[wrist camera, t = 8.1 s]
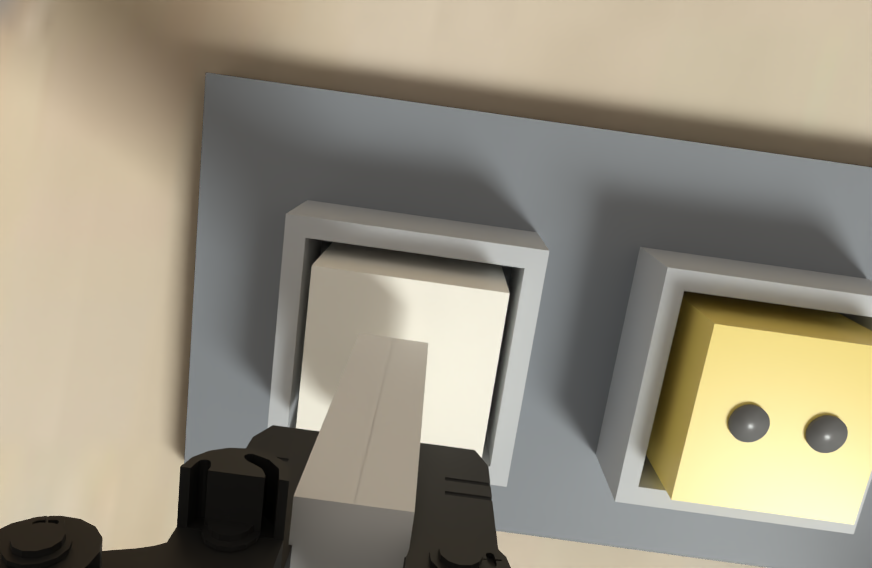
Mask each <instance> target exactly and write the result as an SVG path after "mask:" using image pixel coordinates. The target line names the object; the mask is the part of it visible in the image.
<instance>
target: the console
mask: <svg viewBox="0 0 872 568" xmlns="http://www.w3.org/2000/svg"><path fill="white" fill-rule="evenodd" d="M332 242H339V243H346V244H354V245H361V246H368V247H375V248H382V249H389V250H396V251H404V252H411V253H418V254H425V255H432V256H439V257H446V258H454V259H461V260H468V261H475V262H482V263H489V264H496V265H501V266H502V270H503V273H504V276H505V279H506V283H507V286H508V289H509V292H510V295H509V301H508V307H507V312H506V318H505V324H504V330H503V336H502V342H501V348H500V354H499V360H498V365H497V371H496V377H495V383H494V389H493V395H492V401H491V407H490V413H489V418H488V424H487V430H486V436H485V442H484V448H483V454H482V459H483V460H484V462H485V463H486V464H487V465H488V468H489V476H490V486H491V494H492V502H493V511H494V519H495V528H496V531H502V532H509V533H517V534H524V535H531V536H539V537H546V538H553V539H561V540H568V541H575V542H583V543H590V544H598V545H605V546H612V547H620V548H627V549H634V550H642V551H649V552H656V553H664V554H671V555H679V556H686V557H693V558H701V559H708V560H715V561H723V562H730V563H737V564H745V565H752V566H759V567H767V568H872V471H871V474H870V477H869V480H868V483H867V486H866V489H865V492H864V495H863V499H862V502H861V505H860V508H859V511H858V514H857V517H856V520H855V523H854V525H852V524H845V523H837V522H830V521H823V520H815V519H808V518H801V517H793V516H786V515H779V514H771V513H764V512H757V511H749V510H742V509H735V508H728V507H720V506H713V505H706V504H698V503H691V502H684V501H676V500H671V499H670V497H669V495H668V493H667V492H666V490H665V488H664V486H663V484H662V483H661V481H660V479H659V477H658V475H657V474H656V472H655V470H654V468H653V466H652V465H651V463H650V461H649V459H648V457H647V456H646V452H647V448H648V443H649V439H650V435H651V430H652V426H653V422H654V418H655V413H656V409H657V405H658V400H659V396H660V392H661V388H662V383H663V379H664V375H665V370H666V366H667V362H668V358H669V353H670V349H671V345H672V340H673V336H674V332H675V328H676V323H677V319H678V315H679V310H680V306H681V302H682V298H683V293H684V291H686V292H693V293H700V294H707V295H714V296H721V297H729V298H736V299H743V300H750V301H757V302H764V303H771V304H779V305H786V306H793V307H800V308H807V309H814V310H821V311H828V312H836V313H839V314H841V315H843V316H845V317H847V318H849V319H851V320H852V321H854V322H856V323H858V324H860V325H862V326H864V327H866V328H867V329H869V330H871V331H872V167H866V166H859V165H852V164H844V163H837V162H830V161H823V160H816V159H809V158H802V157H795V156H788V155H781V154H774V153H767V152H760V151H753V150H746V149H739V148H732V147H725V146H718V145H711V144H704V143H697V142H690V141H683V140H676V139H669V138H662V137H655V136H648V135H641V134H634V133H627V132H620V131H613V130H606V129H599V128H592V127H585V126H578V125H571V124H564V123H557V122H550V121H543V120H536V119H529V118H522V117H515V116H508V115H501V114H494V113H487V112H480V111H473V110H466V109H459V108H452V107H445V106H438V105H431V104H424V103H417V102H410V101H402V100H395V99H388V98H381V97H374V96H367V95H360V94H353V93H346V92H339V91H332V90H325V89H318V88H311V87H304V86H297V85H290V84H283V83H276V82H269V81H262V80H255V79H248V78H241V77H234V76H227V75H220V74H213V73H206V77H205V96H204V114H203V132H202V150H201V169H200V187H199V205H198V223H197V242H196V260H195V278H194V296H193V315H192V333H191V351H190V369H189V388H188V406H187V424H186V443H185V461H184V463H185V462H187V461H188V460H189V459H190V458H192V457H194V456H196V455H199V454H202V453H204V452H207V451H210V450H217V449H224V448H246V447H247V446H248V444H249V442H250V441H251V439H252V437H253V436H255V435H257V434H259V433H260V432H262V431H264V430H265V429H267V428H269V427H270V426H272V425H276V426H283V427H291V428H296V423H297V412H298V402H299V392H300V381H301V371H302V361H303V350H304V340H305V330H306V319H307V309H308V299H309V288H310V278H311V268H312V265H313V264H314V262H315V261H316V260H317V259H318V258H319V257H320V256H321V255H322V254H323V252H324V251H325V250H326V249H327V248H328V247H329V246H330V245H331V243H332Z"/></svg>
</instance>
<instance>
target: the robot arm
mask: <svg viewBox="0 0 872 568" xmlns="http://www.w3.org/2000/svg"><path fill="white" fill-rule="evenodd" d="M427 354H428V343H426V342H419V341H412V340H404V339H397V338H390V337H382V336H375V335H368V334H360V333H359V334H358V337H357V339H356V342H355V344H354V347H353V349H352V352H351V354H350V357H349V359H348V362H347V364H346V367H345V369H344V372H343V374H342V377H341V379H340V382H339V384H338V387H337V389H336V392H335V394H334V397H333V399H332V402H331V404H330V407H329V409H328V412H327V414H326V417H325V419H324V422H323V424H322V427H321V429H320V431H313V430H306V429H298V428H291V427H283V426H276V425H272V426H270V427H269V428H267V429H265V430H264V431H262V432H260V433H259V434H257V435H255V436H253V437H252V439H251V441H250V442H249V444H248V446H247V447H246V448H224V449H217V450H210V451H207V452H204V453H202V454H199V455H196V456H194V457H192V458H190V459H189V460H188V461H187V462H185V463H184V464H183V465H182V466H181V467H180V484H179V501H178V519H177V528H176V529H175V531H174V532H173V534H172V535H171V537H170V538H169V540H168V542H167V543H163V544H160V545H156V546H151V547H144V548H136V549H123V550H110V551H102V536H101V535H100V533H99V532H98V530H97V528H96V527H95V526H93V525H91V524H89V523H87V522H85V521H83V520H81V519H77V518H71V517H64V516H49V517H47V516H42V517H35V518H31V519H27V520H23V521H19V522H15V523H12V524H10V525H7V526H5V527H3V528H1V529H0V568H511V567H510V565H509V563H508V561H507V558H506V556H504V555H503V554H502V553H501V552H500V551H499V550H498V545H497V536H496V528H495V519H494V511H493V502H492V494H491V486H490V476H489V468H488V465H487V464H486V463H485V462H484V460H483V459H482V458H481V457H480V456H479V454H478V453H477V452H476V451H475V450H471V449H464V448H457V447H449V446H442V445H434V444H427V443H420V440H421V428H422V415H423V403H424V391H425V379H426V366H427Z"/></svg>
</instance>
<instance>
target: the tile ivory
mask: <svg viewBox="0 0 872 568" xmlns="http://www.w3.org/2000/svg"><path fill="white" fill-rule="evenodd" d="M509 295H510V292H509V289H508V286H507V283H506V279H505V276H504V273H503V270H502V266H501V265H496V264H489V263H482V262H475V261H468V260H461V259H454V258H446V257H439V256H432V255H425V254H418V253H411V252H404V251H396V250H389V249H382V248H375V247H368V246H361V245H354V244H346V243H339V242H332V243H331V245H330V246H329V247H328V248H327V249H326V250H325V251H324V252H323V254H322V255H321V256H320V257H319V258H318V259H317V260H316V261H315V262H314V264H313V265H312V268H311V278H310V288H309V299H308V309H307V319H306V330H305V340H304V350H303V361H302V371H301V381H300V392H299V402H298V412H297V423H296V428H298V429H306V430H313V431H320V429H321V427H322V424H323V422H324V419H325V417H326V414H327V412H328V409H329V407H330V404H331V402H332V399H333V397H334V394H335V392H336V389H337V387H338V384H339V382H340V379H341V377H342V374H343V372H344V369H345V367H346V364H347V362H348V359H349V357H350V354H351V352H352V349H353V347H354V344H355V342H356V339H357V337H358V334H359V333H360V334H368V335H375V336H382V337H390V338H397V339H404V340H412V341H419V342H426V343H428V354H427V366H426V379H425V391H424V403H423V415H422V428H421V440H420V443H427V444H434V445H442V446H449V447H457V448H464V449H471V450H475V451H476V452H477V453H478V454H479V456H480V457H481V458H482V454H483V448H484V442H485V436H486V430H487V424H488V418H489V413H490V407H491V401H492V395H493V389H494V383H495V377H496V371H497V365H498V360H499V354H500V348H501V342H502V336H503V330H504V324H505V318H506V312H507V307H508V301H509Z"/></svg>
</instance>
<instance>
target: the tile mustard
mask: <svg viewBox="0 0 872 568" xmlns="http://www.w3.org/2000/svg"><path fill="white" fill-rule="evenodd" d="M646 456H647V457H648V459H649V461H650V463H651V465H652V466H653V468H654V470H655V472H656V474H657V475H658V477H659V479H660V481H661V483H662V484H663V486H664V488H665V490H666V492H667V493H668V495H669V497H670V499H671V500H676V501H684V502H691V503H698V504H706V505H713V506H720V507H728V508H735V509H742V510H749V511H757V512H764V513H771V514H779V515H786V516H793V517H801V518H808V519H815V520H823V521H830V522H837V523H845V524H852V525H854V523H855V520H856V517H857V514H858V511H859V508H860V505H861V502H862V499H863V495H864V492H865V489H866V486H867V483H868V480H869V477H870V474H871V471H872V331H871V330H869V329H867V328H866V327H864V326H862V325H860V324H858V323H856V322H854V321H852V320H851V319H849V318H847V317H845V316H843V315H841V314H839V313H836V312H828V311H821V310H814V309H807V308H800V307H793V306H786V305H779V304H771V303H764V302H757V301H750V300H743V299H736V298H729V297H721V296H714V295H707V294H700V293H693V292H686V291H684V293H683V298H682V302H681V306H680V310H679V315H678V319H677V323H676V328H675V332H674V336H673V340H672V345H671V349H670V353H669V358H668V362H667V366H666V370H665V375H664V379H663V383H662V388H661V392H660V396H659V400H658V405H657V409H656V413H655V418H654V422H653V426H652V430H651V435H650V439H649V443H648V448H647V452H646Z"/></svg>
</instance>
